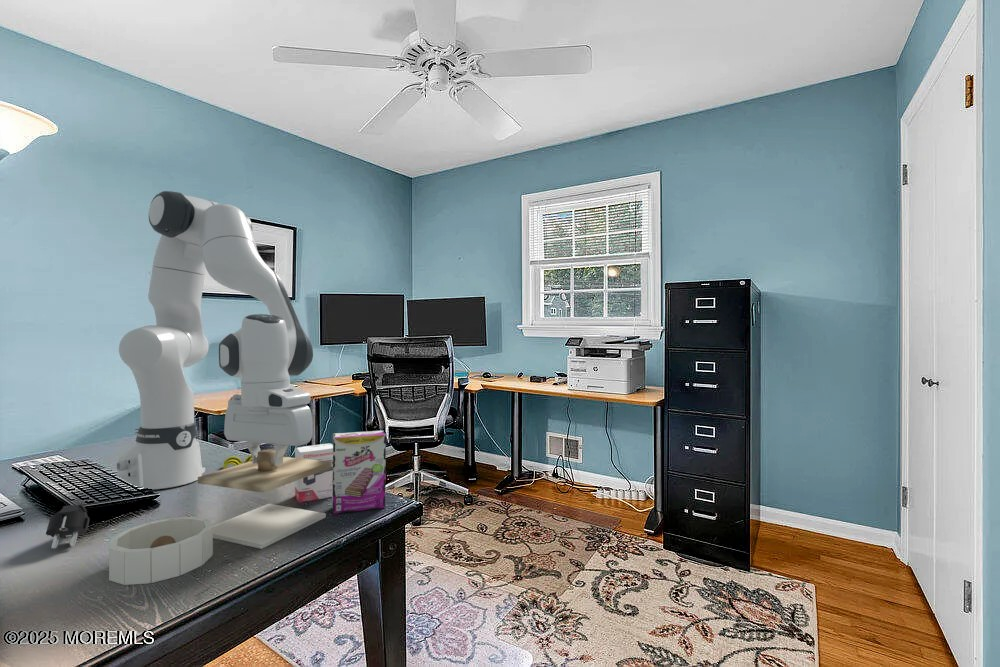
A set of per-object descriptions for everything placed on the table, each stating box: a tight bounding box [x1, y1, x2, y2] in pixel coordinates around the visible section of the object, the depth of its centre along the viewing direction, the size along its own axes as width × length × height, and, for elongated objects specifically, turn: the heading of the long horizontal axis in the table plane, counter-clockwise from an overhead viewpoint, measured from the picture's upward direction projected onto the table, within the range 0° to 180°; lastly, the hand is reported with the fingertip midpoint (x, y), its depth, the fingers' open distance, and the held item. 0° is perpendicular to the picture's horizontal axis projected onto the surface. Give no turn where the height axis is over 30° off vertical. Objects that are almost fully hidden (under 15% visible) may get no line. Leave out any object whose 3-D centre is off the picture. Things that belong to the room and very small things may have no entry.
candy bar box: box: [331, 430, 387, 515], centre depth 106 cm, size 11×5×16 cm, turn 110°
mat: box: [212, 503, 327, 550], centre depth 97 cm, size 16×16×1 cm
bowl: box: [108, 516, 214, 586], centre depth 81 cm, size 14×14×5 cm
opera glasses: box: [222, 454, 252, 470], centre depth 133 cm, size 10×5×5 cm, turn 120°
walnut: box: [150, 536, 176, 548], centre depth 81 cm, size 4×4×4 cm
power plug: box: [45, 503, 90, 550], centre depth 90 cm, size 6×8×12 cm
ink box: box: [294, 443, 333, 504], centre depth 113 cm, size 8×5×12 cm, turn 123°
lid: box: [197, 448, 331, 494], centre depth 97 cm, size 17×17×5 cm
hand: (267, 464), depth 97 cm, fingers closed on lid, 3 cm apart
